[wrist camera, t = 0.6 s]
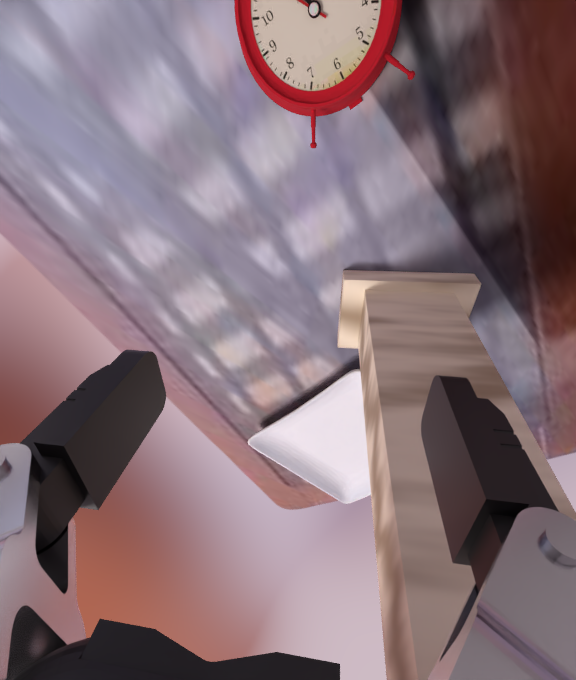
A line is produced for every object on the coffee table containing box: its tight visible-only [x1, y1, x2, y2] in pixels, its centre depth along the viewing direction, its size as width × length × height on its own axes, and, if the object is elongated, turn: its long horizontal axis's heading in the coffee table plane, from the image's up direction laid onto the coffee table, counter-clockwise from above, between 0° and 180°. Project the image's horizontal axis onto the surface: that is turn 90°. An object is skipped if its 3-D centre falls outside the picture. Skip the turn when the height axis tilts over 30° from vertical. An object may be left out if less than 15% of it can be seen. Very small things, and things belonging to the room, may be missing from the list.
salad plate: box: [248, 369, 371, 504], centre depth 46 cm, size 21×21×3 cm
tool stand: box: [338, 270, 576, 680], centre depth 22 cm, size 10×14×31 cm
